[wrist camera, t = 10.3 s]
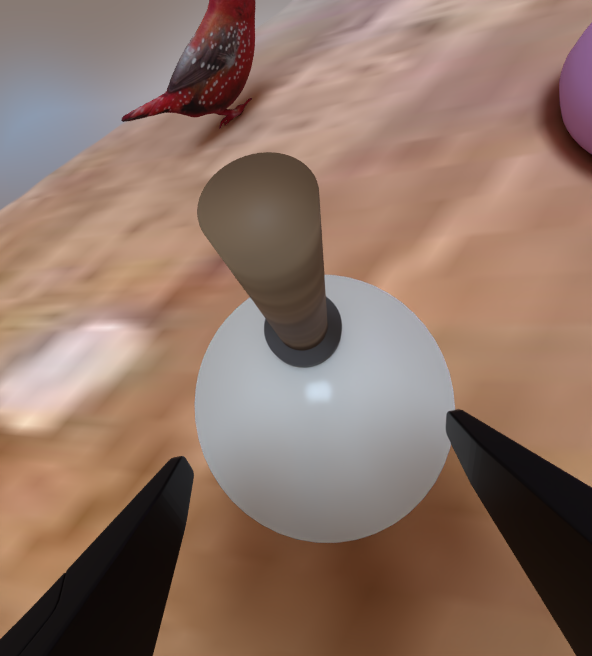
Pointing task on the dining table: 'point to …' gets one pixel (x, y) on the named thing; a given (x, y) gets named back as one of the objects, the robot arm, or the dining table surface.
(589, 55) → the teapot
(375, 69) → the dining table surface
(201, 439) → the white smooth round part
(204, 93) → the decorative bird figurine
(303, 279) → the brown tapered knob
